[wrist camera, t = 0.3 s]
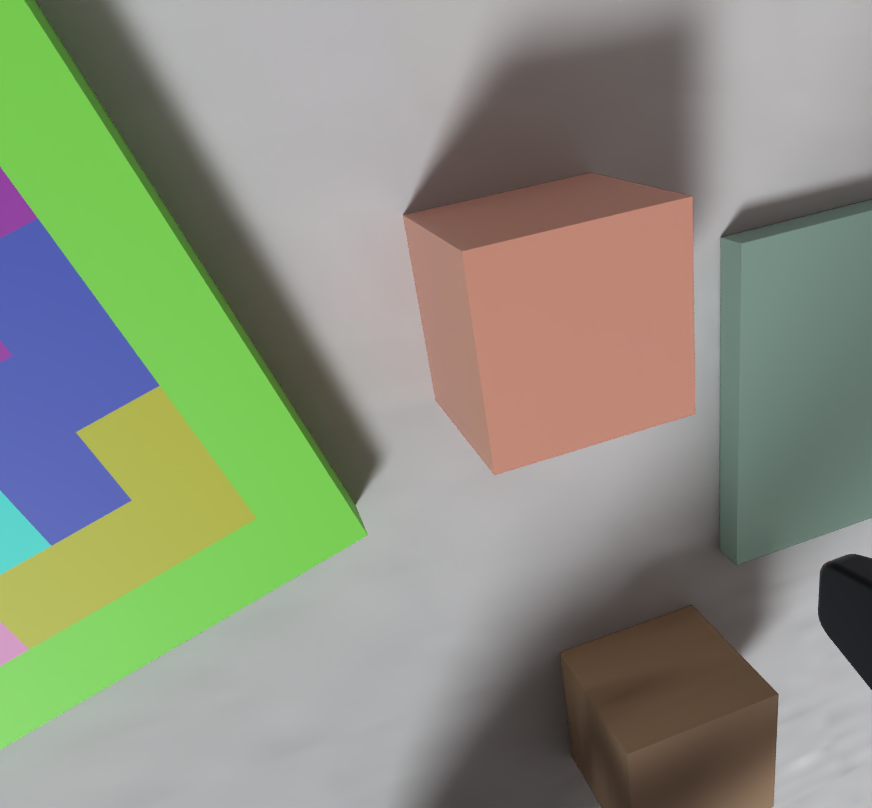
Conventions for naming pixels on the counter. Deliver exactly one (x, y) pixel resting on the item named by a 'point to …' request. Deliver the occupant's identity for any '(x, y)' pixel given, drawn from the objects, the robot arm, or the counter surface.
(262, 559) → the green block puzzle board
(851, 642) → the robot arm
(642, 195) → the salmon pink brick
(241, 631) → the counter surface
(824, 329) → the base plate
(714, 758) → the walnut brick
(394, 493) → the counter surface
